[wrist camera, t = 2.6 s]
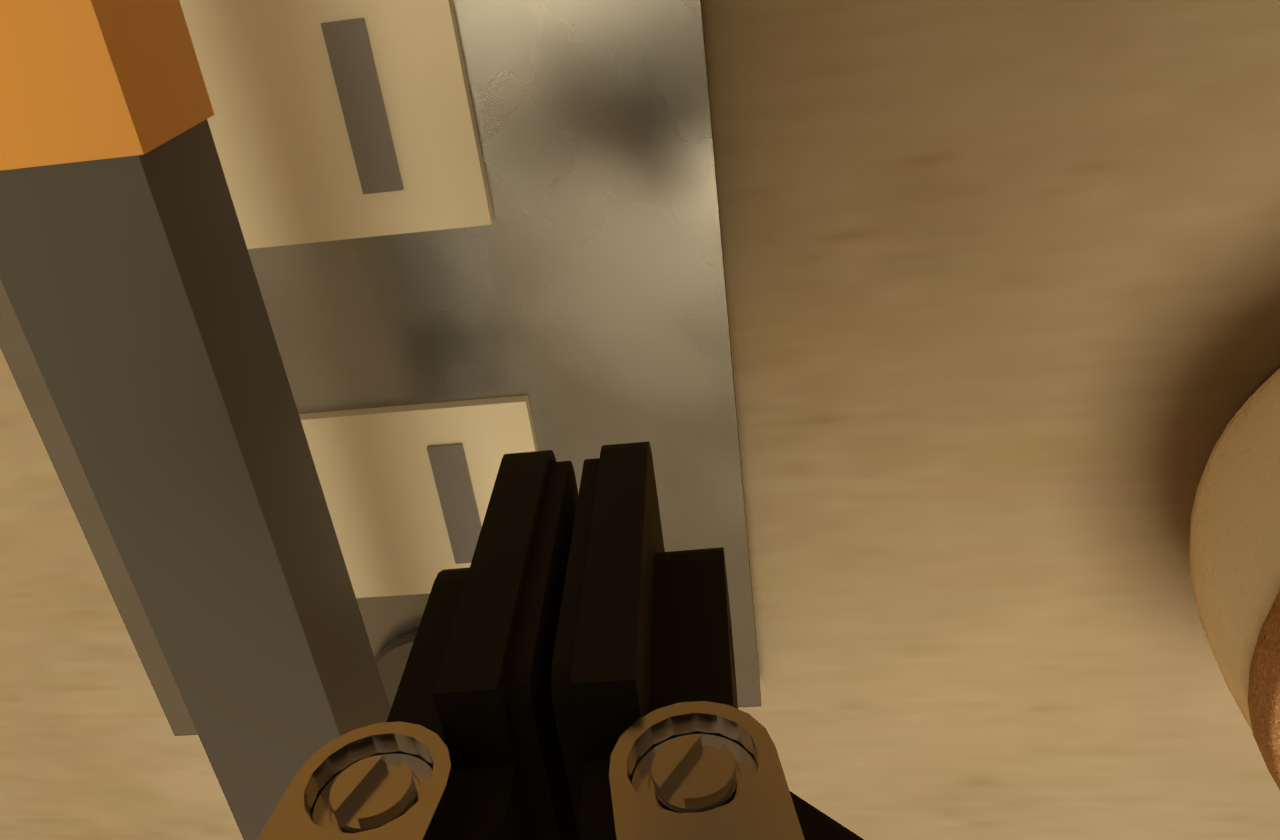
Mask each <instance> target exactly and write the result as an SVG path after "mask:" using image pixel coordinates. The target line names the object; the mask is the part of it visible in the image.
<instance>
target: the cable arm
mask: <svg viewBox="0 0 1280 840" xmlns="http://www.w3.org/2000/svg"><path fill="white" fill-rule="evenodd" d="M213 115H214V112H213V108H212V105H211V102H210V99H209V95H208V92H207V89H206V86H205V82H204V79H203V76H202V73H201V69H200V66H199V63H198V60H197V56H196V53H195V50H194V47H193V43H192V40H191V37H190V34H189V30H188V27H187V24H186V21H185V17H184V14H183V11H182V8H181V4H180V1H179V0H0V279H1V281H2V284H3V286H4V288H5V291H6V293H7V295H8V298H9V300H10V302H11V304H12V307H13V309H14V311H15V314H16V316H17V318H18V321H19V323H20V325H21V328H22V330H23V332H24V334H25V337H26V339H27V341H28V344H29V346H30V348H31V351H32V353H33V355H34V357H35V360H36V362H37V364H38V367H39V369H40V371H41V374H42V376H43V378H44V380H45V383H46V385H47V387H48V390H49V392H50V394H51V397H52V399H53V401H54V404H55V406H56V408H57V410H58V413H59V415H60V417H61V420H62V422H63V424H64V427H65V429H66V431H67V433H68V436H69V438H70V440H71V443H72V445H73V447H74V450H75V452H76V454H77V456H78V459H79V461H80V463H81V466H82V468H83V470H84V473H85V475H86V477H87V480H88V482H89V484H90V486H91V489H92V491H93V493H94V496H95V498H96V500H97V503H98V505H99V507H100V509H101V512H102V514H103V516H104V519H105V521H106V523H107V526H108V528H109V530H110V533H111V535H112V537H113V539H114V542H115V544H116V546H117V549H118V551H119V553H120V556H121V558H122V560H123V562H124V565H125V567H126V569H127V572H128V574H129V576H130V579H131V581H132V583H133V585H134V588H135V590H136V592H137V595H138V597H139V599H140V602H141V604H142V606H143V609H144V611H145V613H146V615H147V618H148V620H149V622H150V625H151V627H152V629H153V632H154V634H155V636H156V638H157V641H158V643H159V645H160V648H161V650H162V652H163V655H164V657H165V659H166V661H167V664H168V666H169V668H170V671H171V673H172V675H173V678H174V680H175V682H176V685H177V687H178V689H179V691H180V694H181V696H182V698H183V701H184V703H185V705H186V708H187V710H188V712H189V714H190V717H191V719H192V721H193V724H194V726H195V728H196V731H197V733H198V735H199V737H200V740H201V742H202V744H203V747H204V749H205V751H206V754H207V756H208V758H209V761H210V763H211V765H212V767H213V770H214V772H215V774H216V777H217V779H218V781H219V784H220V786H221V788H222V790H223V793H224V795H225V797H226V800H227V802H228V804H229V807H230V809H231V811H232V813H233V816H234V818H235V820H236V823H237V825H238V827H239V830H240V832H241V834H242V837H243V839H244V840H256V839H257V838H258V836H259V835H260V833H261V831H262V830H263V828H264V826H265V825H266V823H267V821H268V820H269V818H270V816H271V815H272V813H273V811H274V810H275V808H276V806H277V805H278V803H279V801H280V800H281V798H282V796H283V795H284V793H285V791H286V790H287V788H288V786H289V785H290V783H291V781H292V780H293V778H294V776H295V775H296V774H297V773H298V771H299V770H300V769H301V768H302V766H303V765H304V764H305V763H306V761H307V760H308V759H309V758H310V757H311V756H312V755H313V754H315V753H316V752H317V751H318V750H320V749H321V748H322V747H324V746H325V745H326V744H327V743H329V742H330V741H332V740H334V739H336V738H338V737H340V736H342V735H344V734H346V733H348V732H350V731H351V730H354V729H358V728H361V727H365V726H368V725H372V724H375V723H384V722H387V719H388V716H389V713H390V710H391V709H390V706H389V702H388V699H387V696H386V693H385V690H384V686H383V683H382V680H381V677H380V674H379V670H378V667H377V664H376V661H375V658H374V654H373V651H372V648H371V645H370V641H369V638H368V635H367V632H366V629H365V625H364V622H363V619H362V616H361V613H360V609H359V606H358V603H357V600H356V596H355V593H354V590H353V587H352V584H351V580H350V577H349V574H348V571H347V568H346V564H345V561H344V558H343V555H342V551H341V548H340V545H339V542H338V539H337V535H336V532H335V529H334V526H333V523H332V519H331V516H330V513H329V510H328V506H327V503H326V500H325V497H324V494H323V490H322V487H321V484H320V481H319V478H318V474H317V471H316V468H315V465H314V462H313V458H312V455H311V452H310V449H309V445H308V442H307V439H306V436H305V433H304V429H303V426H302V423H301V420H300V417H299V413H298V410H297V407H296V404H295V400H294V397H293V394H292V391H291V388H290V384H289V381H288V378H287V375H286V372H285V368H284V365H283V362H282V359H281V355H280V352H279V349H278V346H277V343H276V339H275V336H274V333H273V330H272V327H271V323H270V320H269V317H268V314H267V310H266V307H265V304H264V301H263V298H262V294H261V291H260V288H259V285H258V282H257V278H256V275H255V272H254V269H253V266H252V262H251V259H250V256H249V253H248V249H247V246H246V243H245V240H244V237H243V233H242V230H241V227H240V224H239V221H238V217H237V214H236V211H235V208H234V204H233V201H232V198H231V195H230V192H229V188H228V185H227V182H226V179H225V176H224V172H223V169H222V166H221V163H220V159H219V156H218V153H217V150H216V147H215V143H214V140H213V137H212V134H211V131H210V127H209V124H208V121H207V119H208V118H209V117H211V116H213Z"/></svg>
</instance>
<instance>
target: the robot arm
mask: <svg viewBox="0 0 1280 840" xmlns="http://www.w3.org/2000/svg"><path fill="white" fill-rule="evenodd" d="M256 840H864V839H862V838H860V837H859V836H857V835H856V834H854V833H853V832H851V831H850V830H848V829H847V828H845V827H844V826H842V825H841V824H839V823H838V822H836V821H834V820H833V819H831V818H830V817H828V816H827V815H825V814H824V813H822V812H821V811H819V810H818V809H816V808H815V807H813V806H812V805H810V804H808V803H807V802H805V801H804V800H802V799H801V798H799V797H798V796H796V795H795V794H793V793H792V792H790V791H789V788H788V785H787V782H786V779H785V775H784V772H783V769H782V766H781V763H780V760H779V757H778V753H777V750H776V747H775V745H774V743H773V741H772V739H771V737H770V736H769V734H768V732H767V730H766V728H765V727H764V726H762V725H761V724H760V723H759V722H758V721H757V720H755V719H754V718H753V717H752V716H751V715H750V714H748V713H746V712H743V711H741V710H739V709H738V701H737V687H736V673H735V660H734V648H733V636H732V625H731V614H730V604H729V594H728V584H727V574H726V564H725V555H724V548H723V547H720V548H708V549H695V550H683V551H670V552H665V549H664V542H663V534H662V526H661V519H660V511H659V503H658V496H657V488H656V480H655V473H654V465H653V458H652V451H651V446H650V443H649V441H647V442H635V443H624V444H613V445H603V446H602V447H601V452H600V458H595V459H585V460H584V463H583V470H582V476H581V482H580V488H579V495H578V489H577V483H576V477H575V472H574V467H573V464H572V462H571V461H560V462H556V458H555V455H554V453H553V451H552V450H545V451H534V452H523V453H511V454H504V456H503V458H502V460H501V464H500V467H499V470H498V474H497V477H496V481H495V484H494V487H493V491H492V494H491V498H490V501H489V504H488V508H487V511H486V514H485V518H484V521H483V525H482V528H481V531H480V535H479V538H478V541H477V545H476V548H475V552H474V555H473V558H472V562H471V565H470V568H457V569H445V570H442V571H440V572H439V573H438V575H437V577H436V579H435V581H434V583H433V586H432V589H431V592H430V595H429V598H428V601H427V604H426V607H425V610H424V613H423V616H422V619H421V622H420V625H419V628H418V631H417V634H416V636H415V639H414V642H413V645H412V648H411V651H410V654H409V657H408V660H407V663H406V666H405V669H404V672H403V675H402V678H401V681H400V684H399V687H398V689H397V692H396V695H395V698H394V701H393V704H392V707H391V710H390V713H389V716H388V719H387V722H384V723H375V724H372V725H368V726H365V727H361V728H358V729H354V730H351V731H350V732H348V733H346V734H344V735H342V736H340V737H338V738H336V739H334V740H332V741H330V742H329V743H327V744H326V745H325V746H324V747H322V748H321V749H320V750H318V751H317V752H316V753H315V754H313V755H312V756H311V757H310V758H309V759H308V760H307V761H306V763H305V764H304V765H303V766H302V768H301V769H300V770H299V771H298V773H297V774H296V775H295V776H294V778H293V780H292V781H291V783H290V785H289V786H288V788H287V790H286V791H285V793H284V795H283V796H282V798H281V800H280V801H279V803H278V805H277V806H276V808H275V810H274V811H273V813H272V815H271V816H270V818H269V820H268V821H267V823H266V825H265V826H264V828H263V830H262V831H261V833H260V835H259V836H258V838H257V839H256Z"/></svg>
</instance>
